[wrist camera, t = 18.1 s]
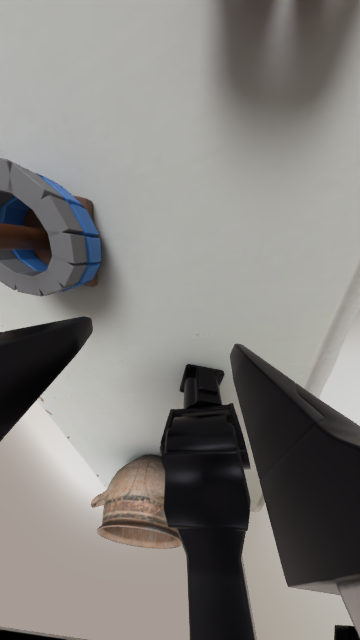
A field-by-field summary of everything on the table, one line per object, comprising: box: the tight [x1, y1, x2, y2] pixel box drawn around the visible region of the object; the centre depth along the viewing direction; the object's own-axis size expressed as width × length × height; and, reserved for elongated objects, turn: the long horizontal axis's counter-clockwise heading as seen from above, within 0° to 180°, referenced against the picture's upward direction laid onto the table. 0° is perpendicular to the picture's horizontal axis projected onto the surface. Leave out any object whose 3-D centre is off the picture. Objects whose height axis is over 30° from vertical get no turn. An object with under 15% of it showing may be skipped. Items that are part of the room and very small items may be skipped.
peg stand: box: [0, 195, 97, 287], centre depth 14 cm, size 9×9×7 cm
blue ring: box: [0, 173, 101, 292], centre depth 15 cm, size 10×10×2 cm
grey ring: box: [0, 158, 88, 296], centre depth 14 cm, size 10×10×2 cm
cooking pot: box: [91, 455, 182, 549], centre depth 35 cm, size 25×19×12 cm
